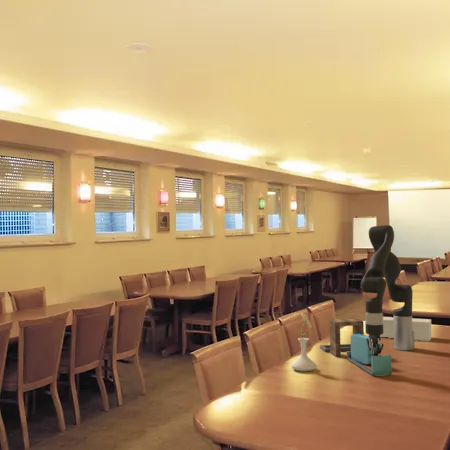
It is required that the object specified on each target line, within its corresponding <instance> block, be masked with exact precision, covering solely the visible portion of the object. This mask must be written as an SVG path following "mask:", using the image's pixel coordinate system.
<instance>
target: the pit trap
mask: <svg viewBox="0 0 450 450" xmlns="http://www.w3.org/2000/svg"><path fill="white" fill-rule="evenodd" d="M340 346H341V352H347V351H351V343H342V344H341V343H340ZM319 349H320V350H321V349H322V350H321V351H323V352H325V353H330V344H322V345H321V344H320V345H319Z"/></svg>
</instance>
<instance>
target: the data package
mask: <svg viewBox="0 0 450 450" xmlns="http://www.w3.org/2000/svg"><path fill="white" fill-rule="evenodd" d="M366 339H369V335H367V334H364V335H362V334H353V333H352V334H351V335H350V344H351V358H352V359H354V360H355V361H357V362H359V363H360V364H364V365H371V356H372V354H371V351H369V348H368V344H367V341H366Z"/></svg>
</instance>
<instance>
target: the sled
mask: <svg viewBox="0 0 450 450" xmlns="http://www.w3.org/2000/svg"><path fill="white" fill-rule="evenodd" d="M346 359H347V360H348V361H349V362H351V363H353V364H355V365H356V366H357V367H359V368H360V369H362V370H364V371H365V372H367V373H369V374H370V375H372V376H374V377H375V376H389V375H391V376H392V374H393V373H392V369H393V367H392V355H391V354H378V355H375V356H371V364H370V365H371V366H370V367H371V369H370V368H368V367H367V366H365V365H363V363H361V362H358V361H355V360H354V359H352V358H351V351H346Z"/></svg>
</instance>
